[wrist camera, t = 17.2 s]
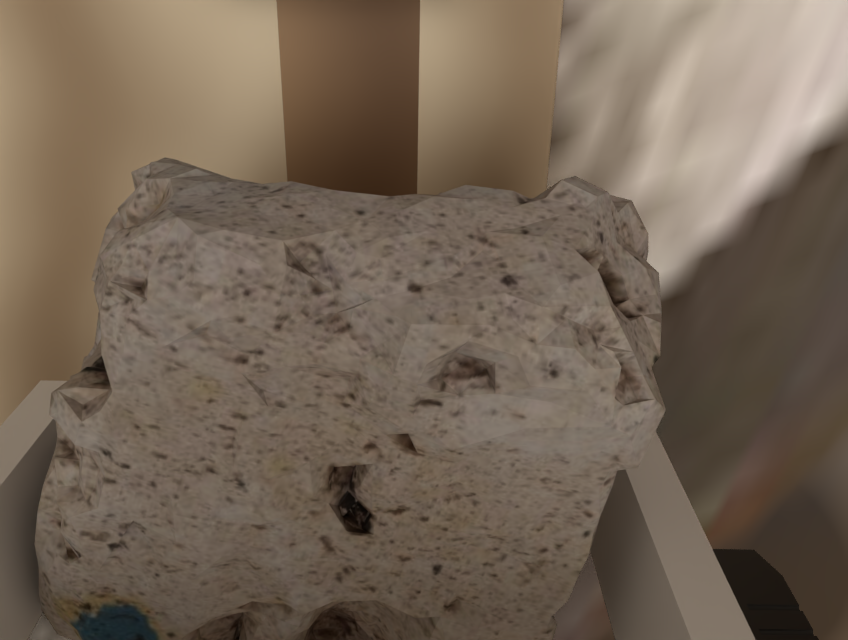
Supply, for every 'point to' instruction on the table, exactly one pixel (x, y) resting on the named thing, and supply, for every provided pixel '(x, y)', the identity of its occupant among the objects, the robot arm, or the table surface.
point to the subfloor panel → (243, 123)
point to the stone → (346, 411)
